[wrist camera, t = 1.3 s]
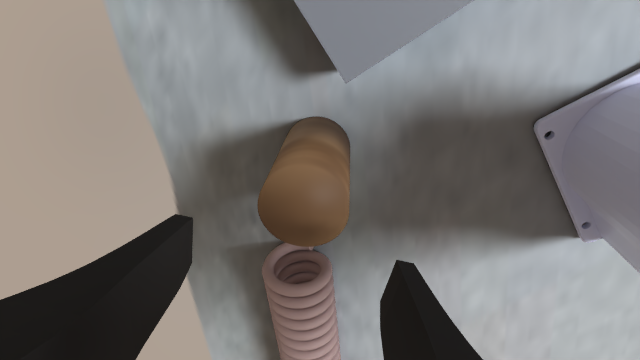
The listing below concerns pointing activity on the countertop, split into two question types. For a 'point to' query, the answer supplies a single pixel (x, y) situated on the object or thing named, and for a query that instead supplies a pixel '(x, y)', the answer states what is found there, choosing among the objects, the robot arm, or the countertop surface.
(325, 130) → the walnut pin
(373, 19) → the bore block
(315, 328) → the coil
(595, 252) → the countertop surface
